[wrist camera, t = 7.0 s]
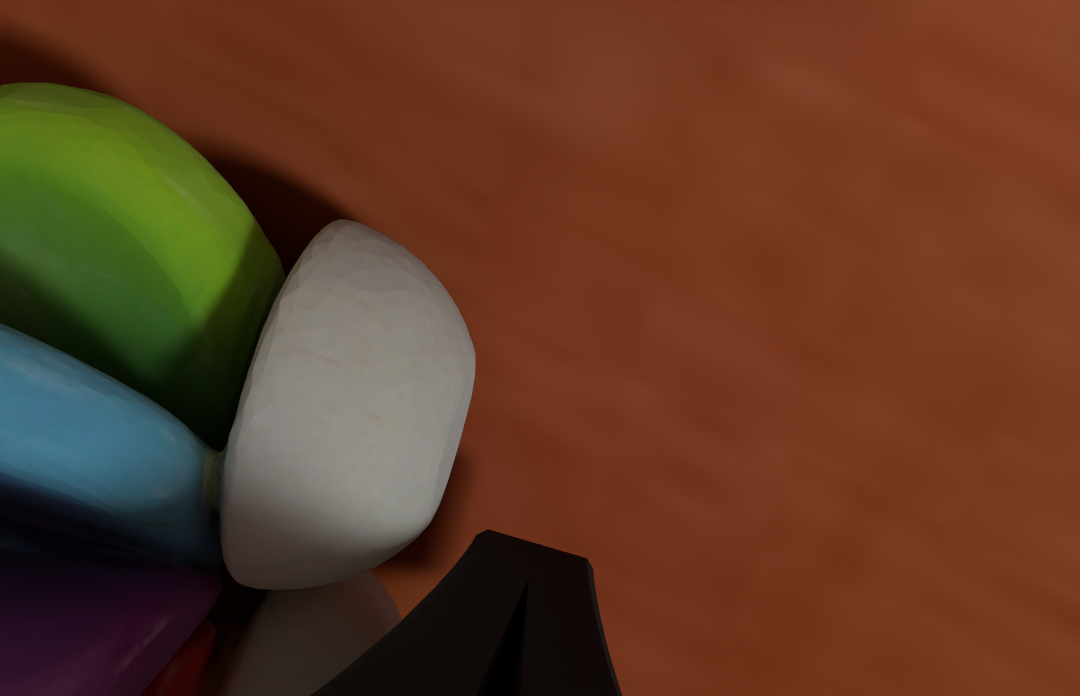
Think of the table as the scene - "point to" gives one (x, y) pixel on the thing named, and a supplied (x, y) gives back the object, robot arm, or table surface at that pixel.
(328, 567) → the rainbow petal cluster
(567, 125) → the table surface
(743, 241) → the table surface
